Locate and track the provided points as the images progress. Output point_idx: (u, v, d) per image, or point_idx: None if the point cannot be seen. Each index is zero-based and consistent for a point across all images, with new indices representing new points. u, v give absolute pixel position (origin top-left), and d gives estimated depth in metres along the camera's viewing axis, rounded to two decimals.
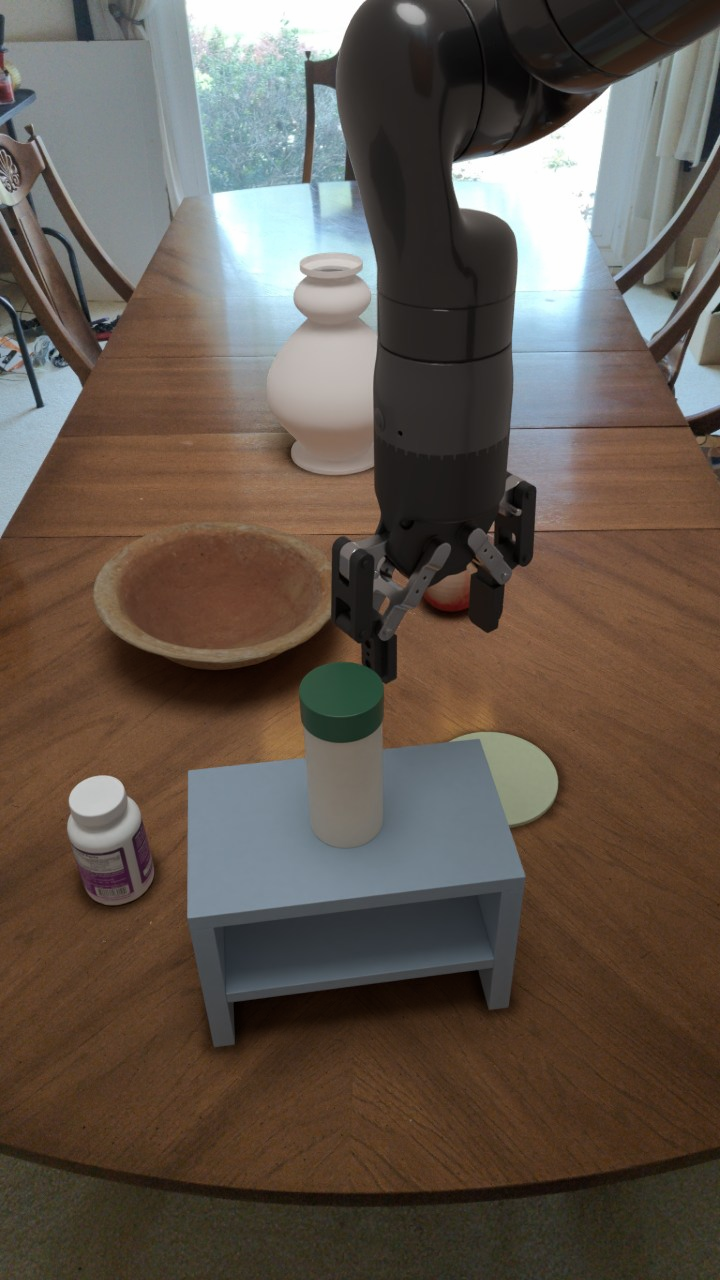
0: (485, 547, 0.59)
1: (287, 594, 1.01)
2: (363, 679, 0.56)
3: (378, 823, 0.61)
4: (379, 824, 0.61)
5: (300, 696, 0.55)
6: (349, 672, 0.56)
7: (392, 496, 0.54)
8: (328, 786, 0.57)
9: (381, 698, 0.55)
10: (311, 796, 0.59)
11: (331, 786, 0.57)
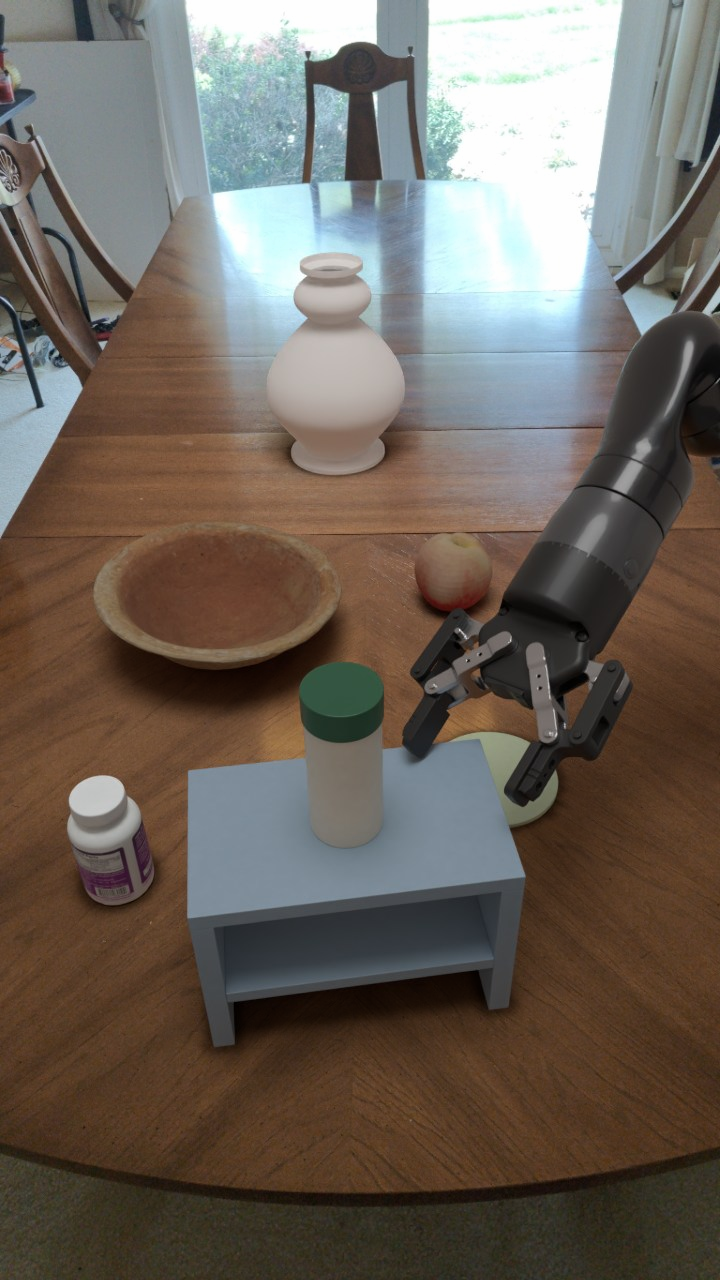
0: None
1: (287, 594, 1.01)
2: (363, 679, 0.56)
3: (378, 823, 0.61)
4: (379, 824, 0.61)
5: (300, 696, 0.55)
6: (349, 672, 0.56)
7: (608, 630, 0.63)
8: (328, 786, 0.57)
9: (381, 698, 0.55)
10: (311, 796, 0.59)
11: (331, 786, 0.57)
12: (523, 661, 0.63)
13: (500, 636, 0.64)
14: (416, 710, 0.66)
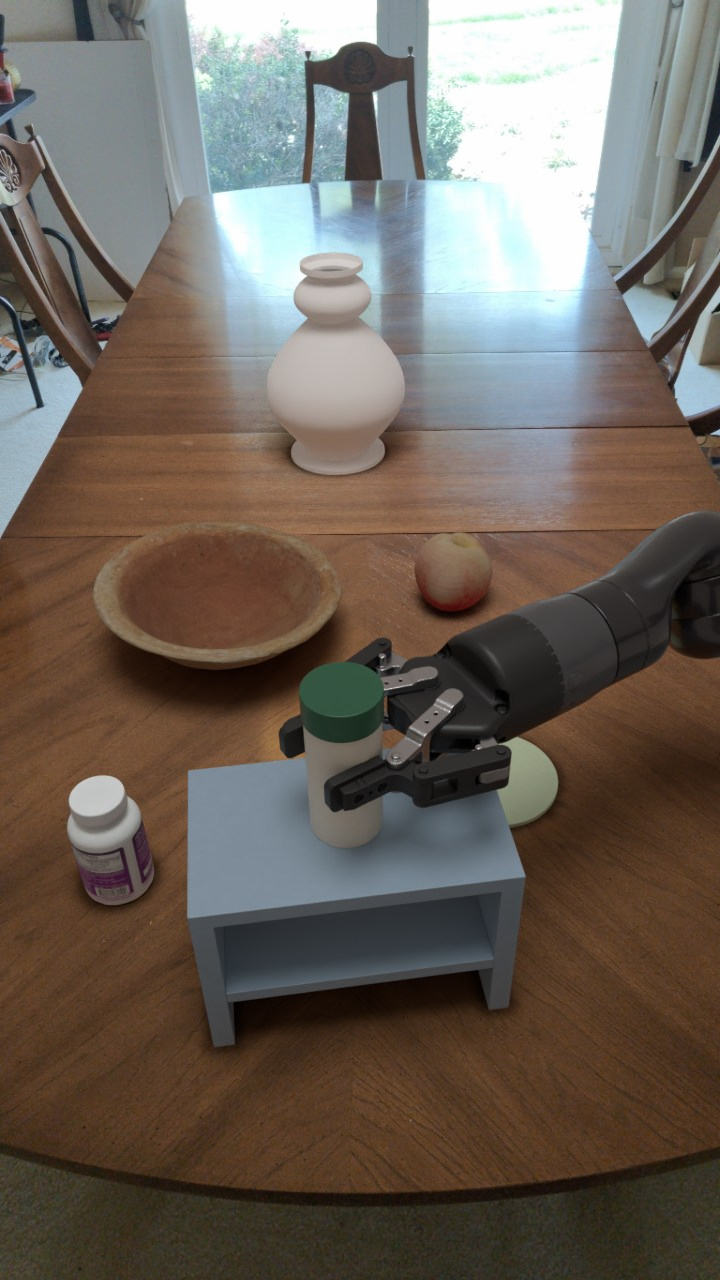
0: None
1: (287, 594, 1.01)
2: (363, 679, 0.56)
3: (378, 823, 0.61)
4: (379, 824, 0.61)
5: (300, 696, 0.55)
6: (349, 672, 0.56)
7: (525, 722, 0.61)
8: None
9: (381, 698, 0.55)
10: (311, 796, 0.59)
11: None
12: (435, 701, 0.60)
13: (427, 669, 0.61)
14: None
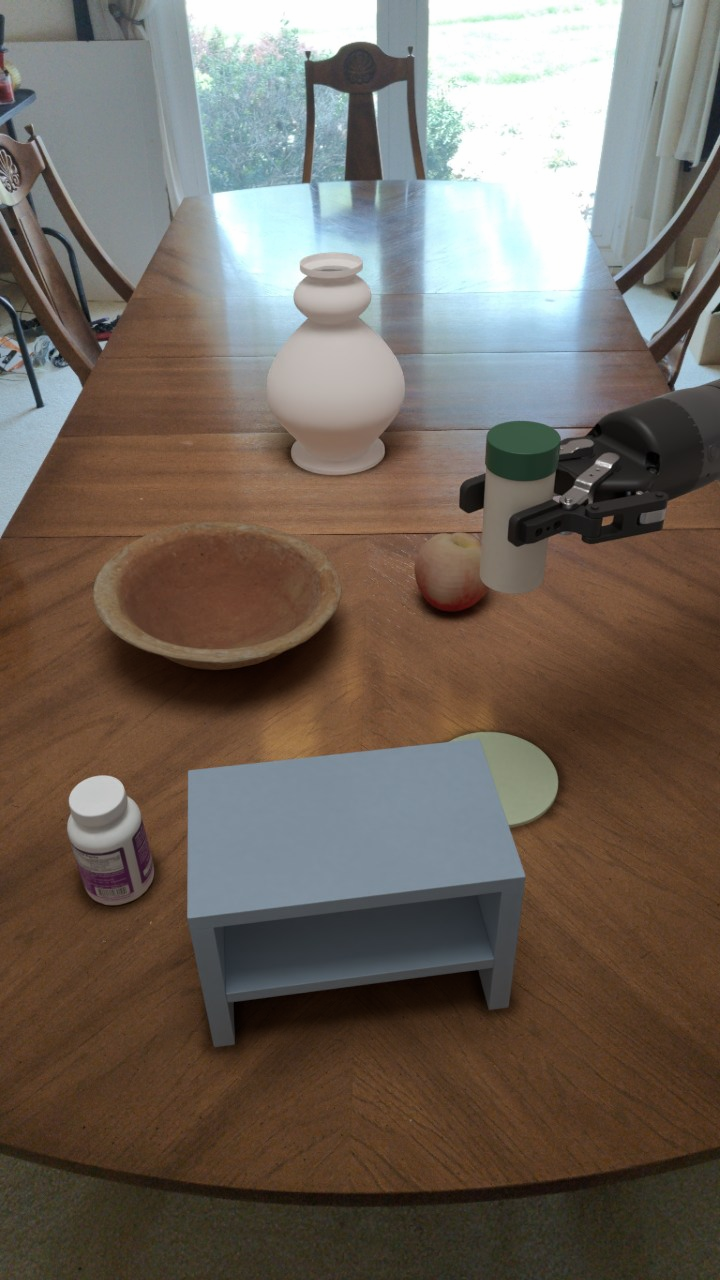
0: None
1: (287, 594, 1.01)
2: (541, 430, 0.65)
3: (542, 573, 0.69)
4: (543, 575, 0.69)
5: (489, 442, 0.64)
6: (527, 427, 0.65)
7: (671, 485, 0.69)
8: (507, 528, 0.66)
9: None
10: (487, 545, 0.68)
11: None
12: (593, 465, 0.69)
13: (583, 440, 0.70)
14: (484, 474, 0.69)
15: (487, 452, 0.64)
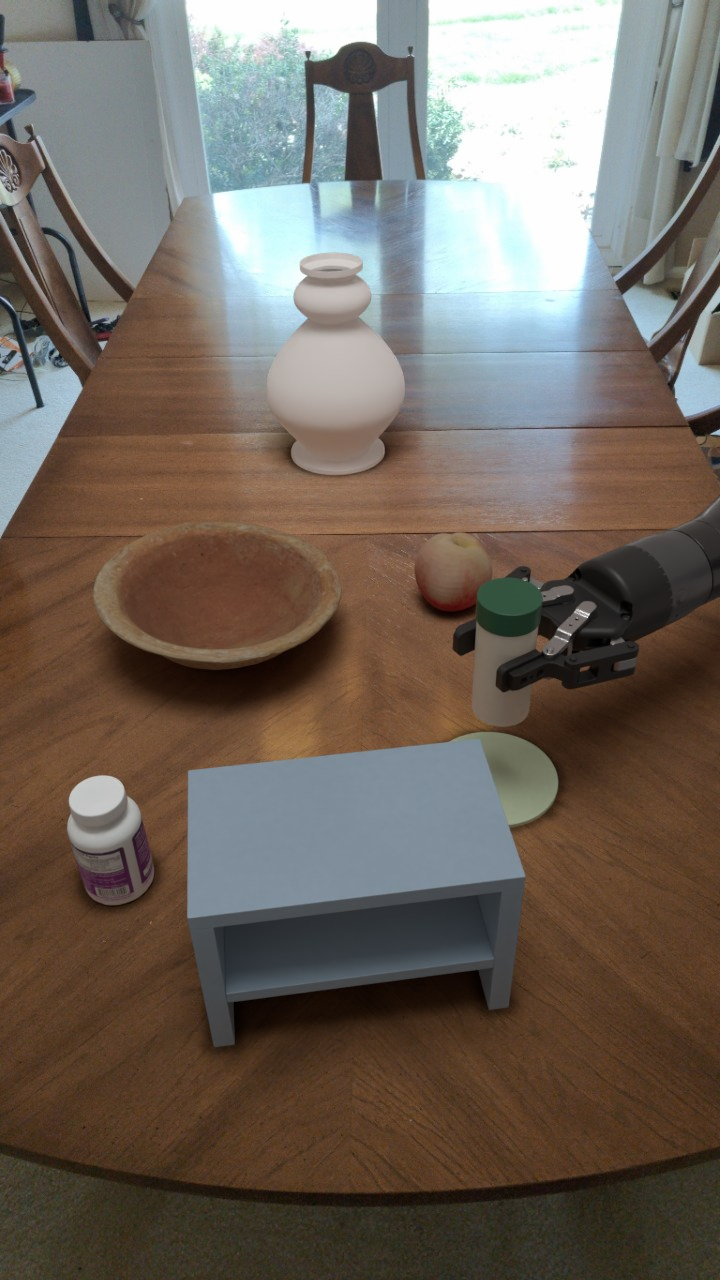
0: None
1: (287, 594, 1.01)
2: (525, 589, 0.72)
3: (528, 707, 0.77)
4: (528, 708, 0.77)
5: (479, 601, 0.71)
6: (513, 585, 0.73)
7: (643, 628, 0.77)
8: (495, 674, 0.74)
9: None
10: (478, 684, 0.76)
11: None
12: (573, 611, 0.77)
13: (564, 587, 0.78)
14: (475, 619, 0.77)
15: (477, 609, 0.72)
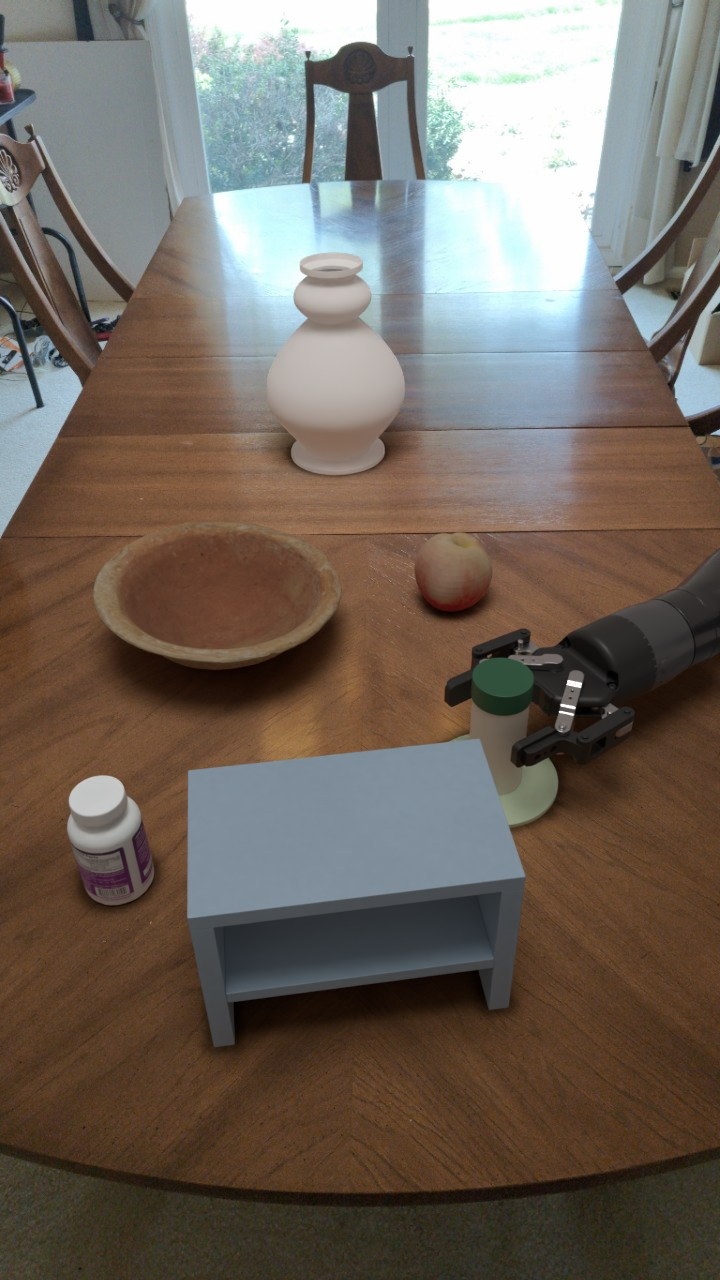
0: None
1: (287, 594, 1.01)
2: (517, 670, 0.77)
3: (520, 777, 0.82)
4: (520, 778, 0.82)
5: (474, 682, 0.76)
6: (506, 665, 0.78)
7: (628, 695, 0.81)
8: (489, 748, 0.79)
9: (533, 684, 0.76)
10: None
11: (492, 748, 0.78)
12: (562, 680, 0.81)
13: (554, 656, 0.82)
14: (465, 673, 0.82)
15: (472, 689, 0.77)
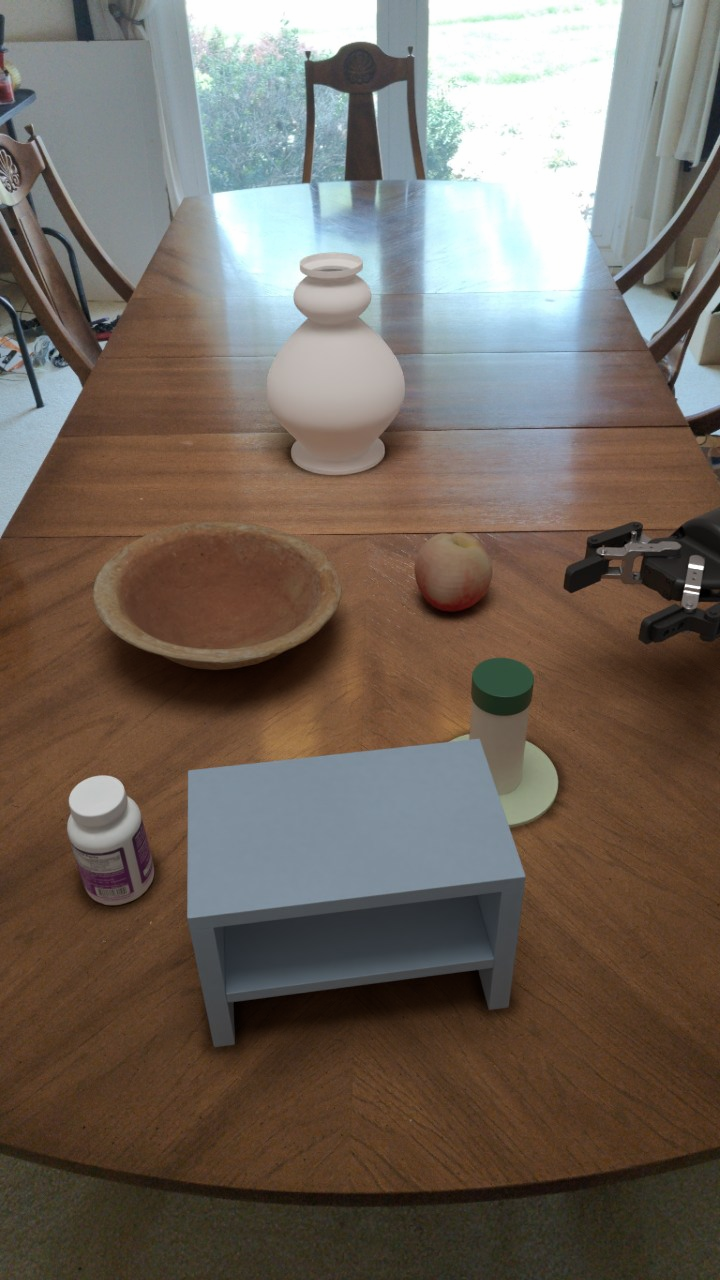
0: None
1: (287, 594, 1.01)
2: (517, 670, 0.77)
3: (520, 777, 0.82)
4: (520, 778, 0.82)
5: (474, 682, 0.76)
6: (506, 665, 0.78)
7: None
8: (489, 748, 0.79)
9: (533, 684, 0.76)
10: None
11: (492, 748, 0.78)
12: (681, 565, 0.82)
13: (672, 543, 0.83)
14: (583, 560, 0.83)
15: (472, 689, 0.77)
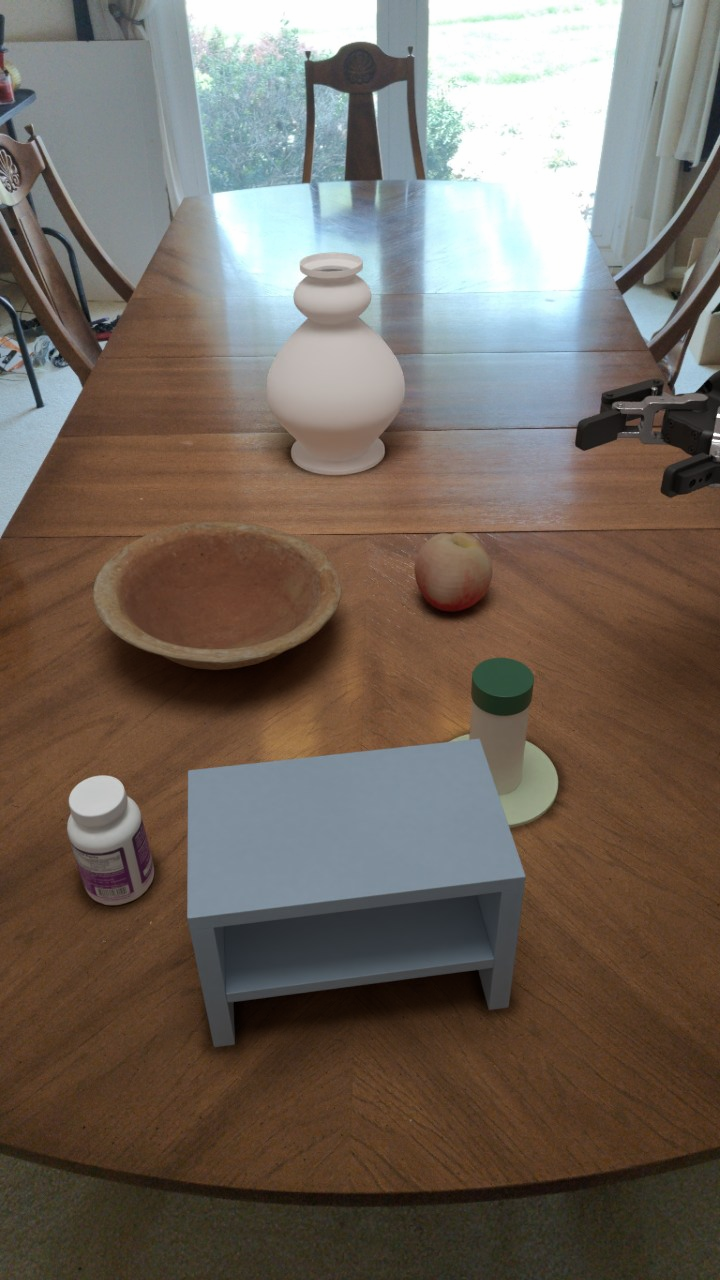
0: None
1: (287, 594, 1.01)
2: (517, 670, 0.77)
3: (520, 777, 0.82)
4: (520, 778, 0.82)
5: (474, 682, 0.76)
6: (506, 665, 0.78)
7: None
8: (489, 748, 0.79)
9: (533, 684, 0.76)
10: None
11: (492, 748, 0.78)
12: (708, 417, 0.72)
13: (697, 395, 0.73)
14: (597, 415, 0.74)
15: (472, 689, 0.77)
